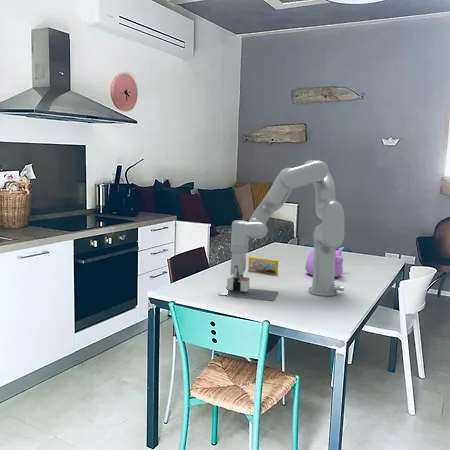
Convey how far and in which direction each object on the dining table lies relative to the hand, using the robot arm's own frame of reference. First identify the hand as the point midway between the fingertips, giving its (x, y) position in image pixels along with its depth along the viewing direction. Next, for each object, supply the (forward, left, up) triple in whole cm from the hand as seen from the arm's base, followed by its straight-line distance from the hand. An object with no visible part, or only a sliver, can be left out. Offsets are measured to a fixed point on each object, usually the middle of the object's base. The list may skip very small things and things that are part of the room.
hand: (238, 288), depth 204 cm
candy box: (-4, -39, -2) cm, 39 cm away
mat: (-5, 0, -2) cm, 5 cm away
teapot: (-35, -47, -2) cm, 59 cm away
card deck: (0, 0, 0) cm, 0 cm away
